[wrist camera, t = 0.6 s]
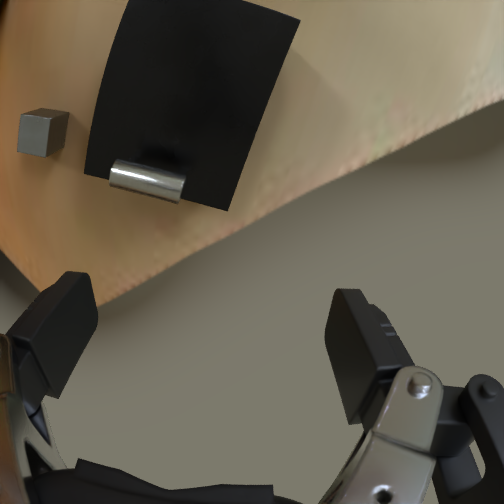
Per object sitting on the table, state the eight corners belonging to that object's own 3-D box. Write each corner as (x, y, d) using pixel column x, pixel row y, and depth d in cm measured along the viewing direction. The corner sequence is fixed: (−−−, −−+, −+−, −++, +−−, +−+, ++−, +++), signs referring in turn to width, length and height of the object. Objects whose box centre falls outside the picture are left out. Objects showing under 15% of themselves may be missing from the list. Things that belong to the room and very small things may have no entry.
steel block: (36, 142, 28) (16, 151, 25) (41, 108, 26) (20, 113, 22) (63, 147, 29) (45, 158, 26) (69, 112, 27) (50, 118, 23)
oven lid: (227, 207, 26) (227, 239, 21) (87, 170, 23) (58, 194, 18) (298, 22, 18) (318, 7, 13) (139, -17, 15) (117, -38, 10)
